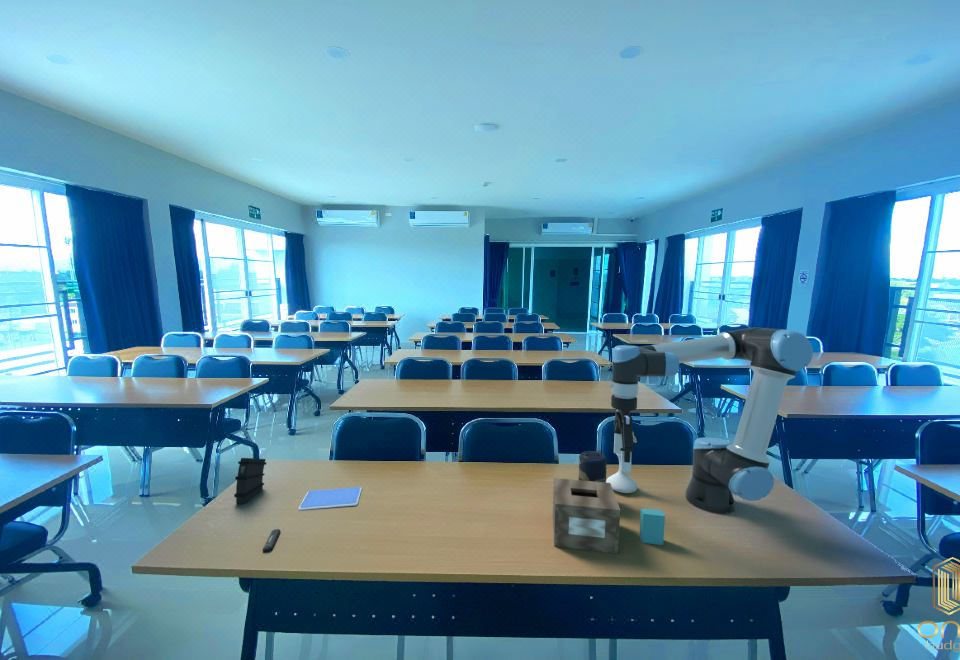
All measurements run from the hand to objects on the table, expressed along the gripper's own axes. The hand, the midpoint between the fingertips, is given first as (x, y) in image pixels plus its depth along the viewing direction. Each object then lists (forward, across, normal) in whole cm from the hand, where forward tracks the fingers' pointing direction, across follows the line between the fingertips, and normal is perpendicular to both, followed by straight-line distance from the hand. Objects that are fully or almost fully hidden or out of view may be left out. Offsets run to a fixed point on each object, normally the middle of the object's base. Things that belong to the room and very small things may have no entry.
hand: (621, 461), depth 118 cm
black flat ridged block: (+21, +8, -129) cm, 131 cm away
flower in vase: (+22, -27, +5) cm, 35 cm away
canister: (+22, -14, -7) cm, 27 cm away
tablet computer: (+22, +4, -99) cm, 101 cm away
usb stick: (+21, +30, -102) cm, 108 cm away
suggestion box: (+21, +6, -12) cm, 25 cm away
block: (+22, +5, +8) cm, 24 cm away
